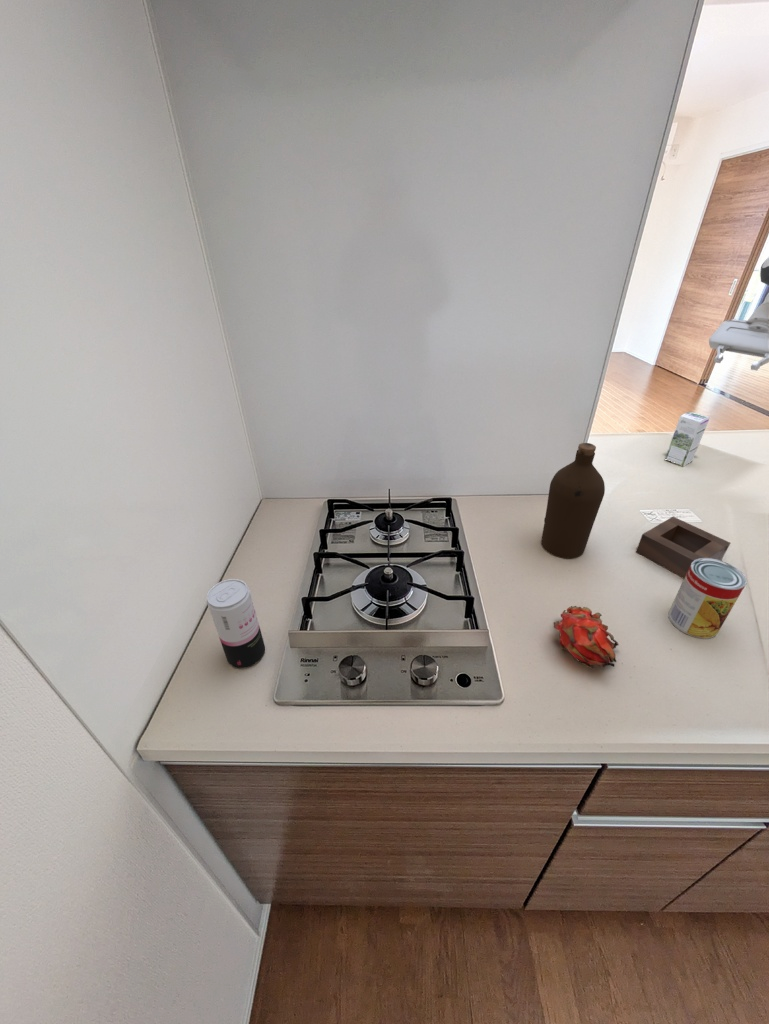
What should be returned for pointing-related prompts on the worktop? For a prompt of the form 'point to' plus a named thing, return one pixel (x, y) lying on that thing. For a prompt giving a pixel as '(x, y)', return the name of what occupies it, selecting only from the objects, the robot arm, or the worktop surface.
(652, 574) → the worktop surface
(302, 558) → the worktop surface
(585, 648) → the dragon fruit
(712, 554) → the holder
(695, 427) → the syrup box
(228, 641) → the beverage can
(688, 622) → the canned food
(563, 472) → the olive oil
